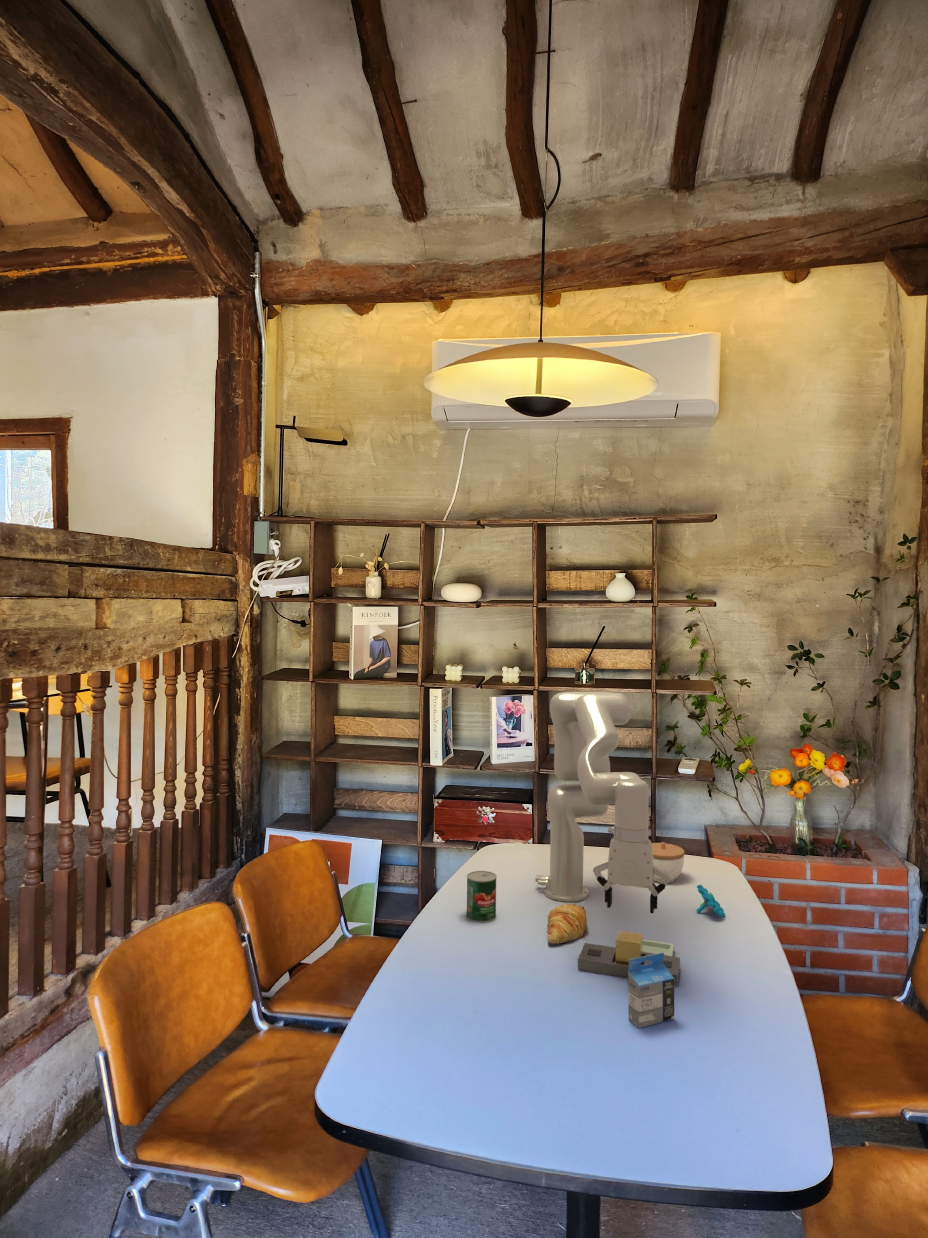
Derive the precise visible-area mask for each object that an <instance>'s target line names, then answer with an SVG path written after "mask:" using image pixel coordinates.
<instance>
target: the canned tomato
mask: <svg viewBox="0 0 928 1238" xmlns="http://www.w3.org/2000/svg"><path fill="white" fill-rule="evenodd" d="M466 880H467V881H466V919H467V920H468V921H471V922H473V923H478V924H479V923H480V924H481V923H482V924H483V923H489V922H493V921H494V920H496V919H497V915H496V914H497V875H496V873H494V872H493V871H487V870H476V871H475V870H474V871H471V872H469V873H468V874H467V875H466Z"/></svg>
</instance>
